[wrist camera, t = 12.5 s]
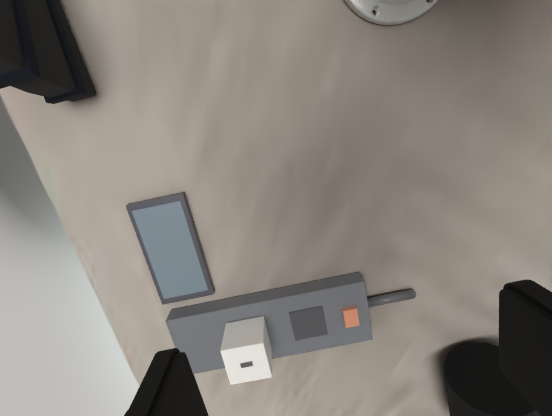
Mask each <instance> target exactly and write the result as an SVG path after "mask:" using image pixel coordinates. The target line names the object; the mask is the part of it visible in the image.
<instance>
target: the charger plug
mask: <svg viewBox="0 0 552 416" xmlns="http://www.w3.org/2000/svg"><path fill="white" fill-rule="evenodd" d="M220 352H221V355H222V358H223V361H224V365H225V368H226V371H227V374H228V378H229V381H230V384H231V385H232V384H238V383H243V382H249V381H254V380H260V379H265V378H271V377H272V347H271V343H270V339H269V335H268V331H267V327H266V323H265V319H264V316H262V317H257V318H251V319H246V320H241V321H235V322H230V323H226V325H225V330H224V335H223V340H222V345H221V350H220Z"/></svg>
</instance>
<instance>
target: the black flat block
mask: <svg viewBox="0 0 552 416" xmlns="http://www.w3.org/2000/svg"><path fill="white" fill-rule="evenodd" d="M8 86H12V87H15V88H18V89H20V90H23V91H25V92H28V93H32V94H37V95H41V96H44V98H45V101H46V103H52V104H55V103H59V102H62V101H66V100H67V101H76V100H80V99H83V98H87V97H90V96H94V95H95V94H96V92H95V90H94V87H93V85H92V82H91V80H90V77H89V75H88V72H87V70H86V67H85V65H84V62H83V60H82V57H81V55H80V52H79V50H78V47H77V45H76V43H75V40H74V38H73V35H72V33H71V30H70V28H69V25H68V23H67V20H66V18H65V15H64V13H63V10H62V8H61V5H60V3H59V0H0V89H1V88H4V87H8Z"/></svg>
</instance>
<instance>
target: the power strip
mask: <svg viewBox="0 0 552 416" xmlns="http://www.w3.org/2000/svg"><path fill="white" fill-rule="evenodd" d="M415 297H416V292H415V291H414V290H411V289H410V290H405V291H400V292H395V293H390V294H385V295H380V296H374V297H369V298H367V295H366V287H365V281H364V280H363V278H362V276H361V275H360V273H359V272H355V273H350V274H345V275H340V276H335V277H330V278H325V279H320V280H315V281H310V282H305V283H300V284H295V285H290V286H285V287H280V288H275V289H270V290H265V291H260V292H255V293H250V294H245V295H240V296H235V297H230V298H225V299H220V300H215V301H210V302H205V303H200V304H195V305H190V306H185V307H180V308H175V309H171V311H170V313H169V315H168V317H167V319H166V323H167V326H168V329H169V331H170V334H171V337H172V340H173V342H174V345H175V348H178V349H179V350H180V352H185V353H186V355H187V358H188V361H189V363H190V366H191V369H192V372H193V374H195V373H201V372H206V371H211V370H216V369H221V368H225V365H224V361H223V358H222V355H221V352H220V350H221V345H222V340H223V335H224V330H225V325H226V323H230V322H235V321H241V320H246V319H251V318H257V317H262V316H264V319H265V323H266V327H267V331H268V335H269V339H270V343H271V347H272V359H273V358H279V357H284V356H289V355H294V354H299V353H305V352H310V351H315V350H320V349H325V348H331V347H336V346H341V345H346V344H352V343H357V342H362V341H367V340H372V339H373V337H372V330H371V323H370V316H369V309H368V307H372V306H377V305H383V304H388V303H393V302H398V301H403V300H408V299H413V298H415Z"/></svg>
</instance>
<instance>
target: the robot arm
mask: <svg viewBox="0 0 552 416" xmlns="http://www.w3.org/2000/svg"><path fill="white" fill-rule="evenodd" d="M427 1H428V2H426V0H345V2H346V3H347V4H348V6H349V7H350V8H351V9H352V10H353V11H354V12H355V13H356V14H357V15H359V16H360V17H362V18H364V19H365V20H367V21H370V22H373V23H376V24H380V25H397V24H402V23H405V22H408V21H411V20H413V19H415V18H417V17H418V16H420V15H422V14H423V13H425V12H426V11H427V10H429V9H430V8H431V7H432V6H433V5H434V4H435V3H436V2H437V1H438V0H427ZM372 11H374V12H375V15H373V14H372ZM499 366H500V369H501V371H502V373H503V375H504V376H505V377H506V379H507V380H508V381H509V382H510V383H511V384H512V385H513V386H514V387H515V388H516V389H517V390H518V392H519V393H520V394H521V395H522V396H523V397H524V398H525V399H526V400H527V401H528V402H529V403H530V404H531V406H532V407H533V408H534V409H535V410H536V411H537V412H538V413H539V414H540V415H541V416H552V292H550V291H549V290H547V289H545V288H544V287H542V286H541V285H539V284H537V283H536V282H534V281H532V280H521V281H516V282H511V283H507V284H505V285H504V288H503V290H501V291H500V293H499ZM124 416H208V413H207V410H206V407H205V405H204V402H203V399H202V396H201V394H200V391H199V388H198V385H197V383H196V380H195V377H194V374H193V372H192V369H191V366H190V363H189V361H188V358H187V355H186V353H185V352H180V350H179V349H178V348H174V349H169V350H164V351H159V352H157V353H156V354H155V356H154V358H153V360H152V362H151V364H150V366H149V368H148V371H147V373H146V375H145V377H144V379H143V381H142V383H141V385H140V387H139V389H138V391H137V394H136V395H135V398H134V400H133V402H132V404H131V406H130V408H129V410H128V411H127V412H126V413H125V415H124Z"/></svg>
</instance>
